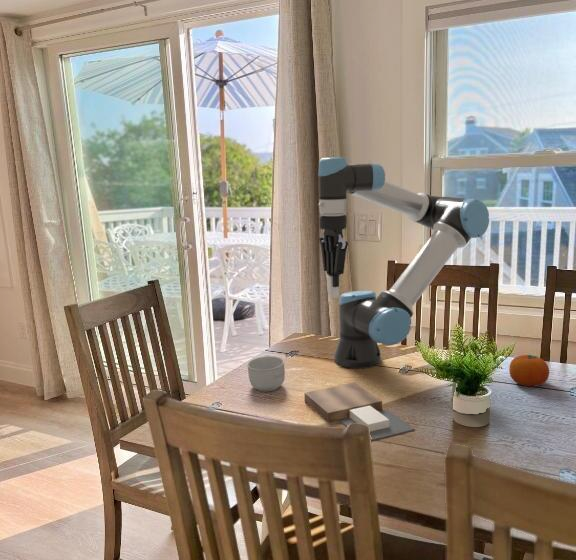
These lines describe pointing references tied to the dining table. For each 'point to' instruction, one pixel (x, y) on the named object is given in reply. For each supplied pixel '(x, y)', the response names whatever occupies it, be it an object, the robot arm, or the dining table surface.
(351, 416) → the white rectangular block
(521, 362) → the fruit
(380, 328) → the robot arm
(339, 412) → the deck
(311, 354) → the dining table surface
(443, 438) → the dining table surface
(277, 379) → the teacup
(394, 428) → the mat
